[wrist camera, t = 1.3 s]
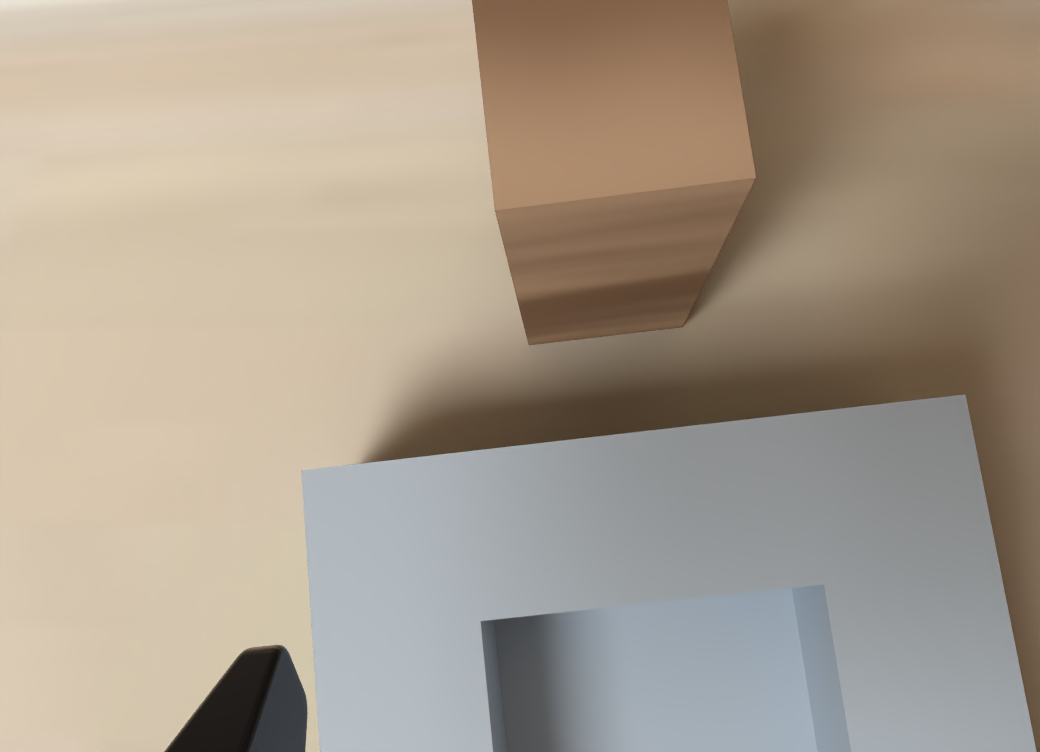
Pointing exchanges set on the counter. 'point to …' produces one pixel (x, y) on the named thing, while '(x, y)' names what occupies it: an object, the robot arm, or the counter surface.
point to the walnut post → (611, 156)
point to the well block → (670, 592)
